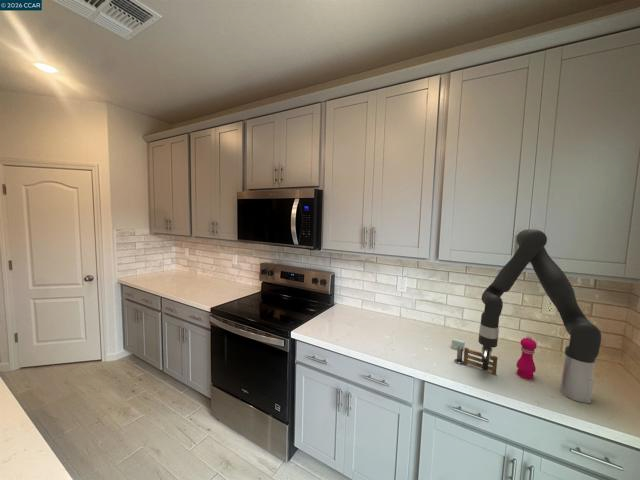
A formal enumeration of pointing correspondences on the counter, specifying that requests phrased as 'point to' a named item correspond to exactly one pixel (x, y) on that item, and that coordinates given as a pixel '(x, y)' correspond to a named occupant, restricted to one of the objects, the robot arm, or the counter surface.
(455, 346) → the block
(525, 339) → the pepper mill
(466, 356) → the gate
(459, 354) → the hinge post
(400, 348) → the counter surface
